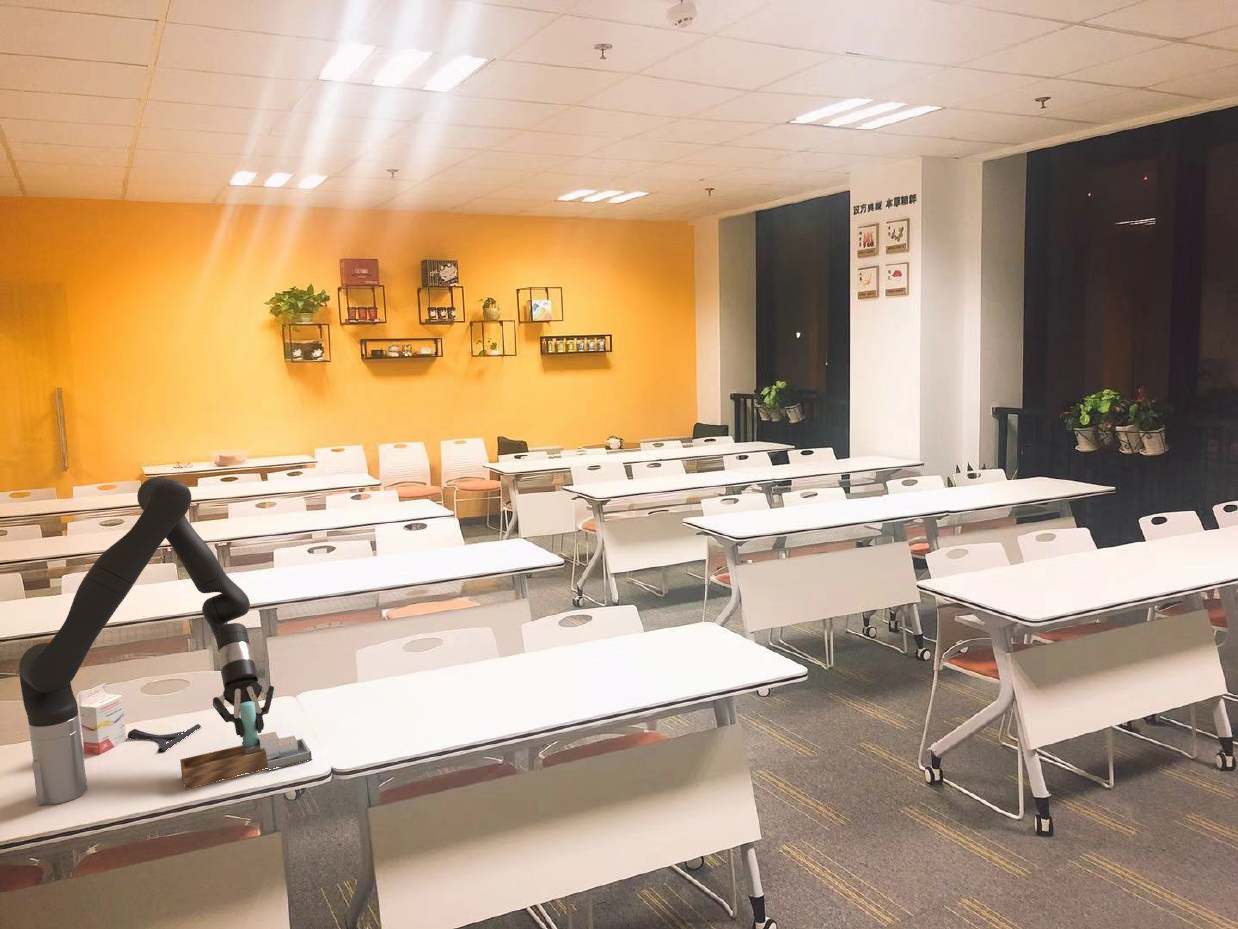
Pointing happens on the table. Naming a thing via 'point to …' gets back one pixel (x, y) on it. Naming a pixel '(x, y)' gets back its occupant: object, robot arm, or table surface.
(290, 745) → the chip
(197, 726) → the black forked piece
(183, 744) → the table surface
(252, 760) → the channel
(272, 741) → the light grey block
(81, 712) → the ink cartridge box
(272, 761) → the tray
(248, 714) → the teal block
